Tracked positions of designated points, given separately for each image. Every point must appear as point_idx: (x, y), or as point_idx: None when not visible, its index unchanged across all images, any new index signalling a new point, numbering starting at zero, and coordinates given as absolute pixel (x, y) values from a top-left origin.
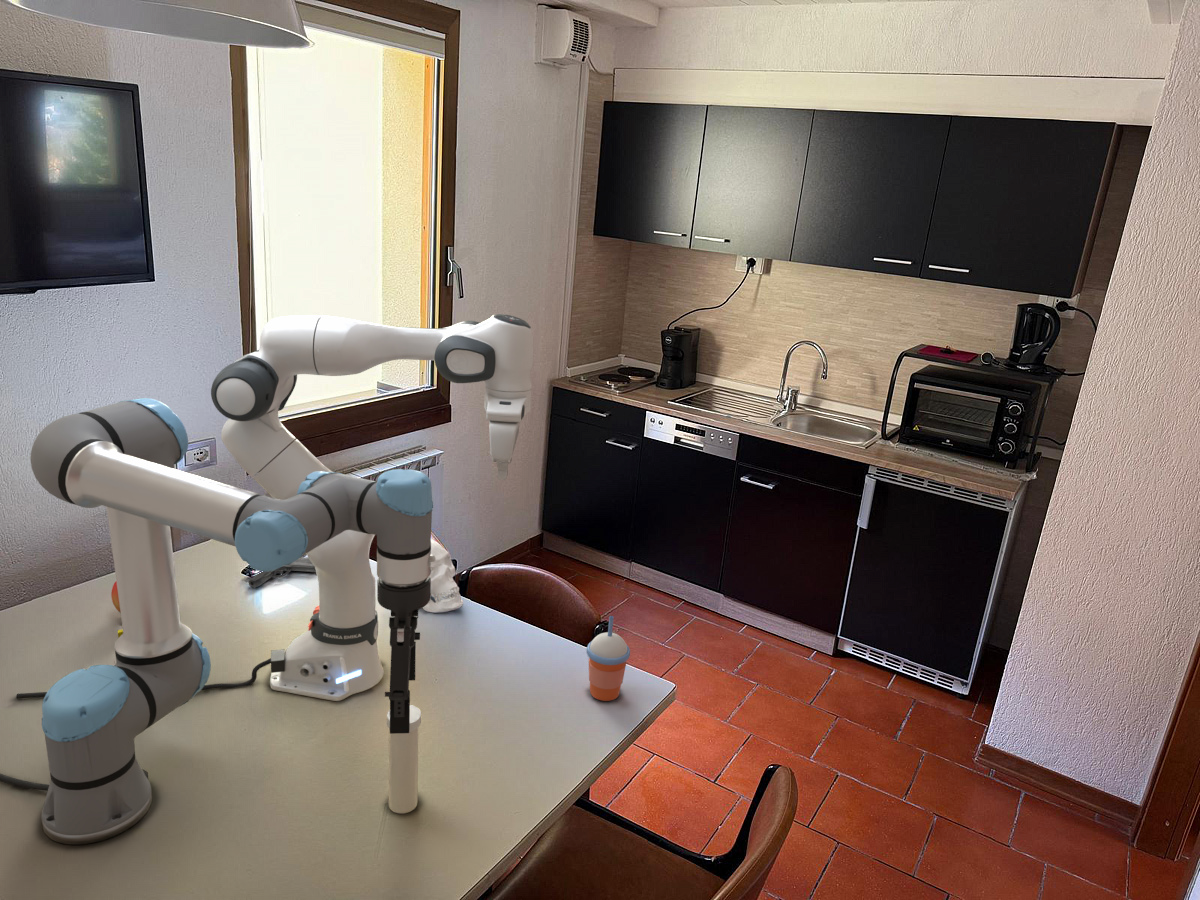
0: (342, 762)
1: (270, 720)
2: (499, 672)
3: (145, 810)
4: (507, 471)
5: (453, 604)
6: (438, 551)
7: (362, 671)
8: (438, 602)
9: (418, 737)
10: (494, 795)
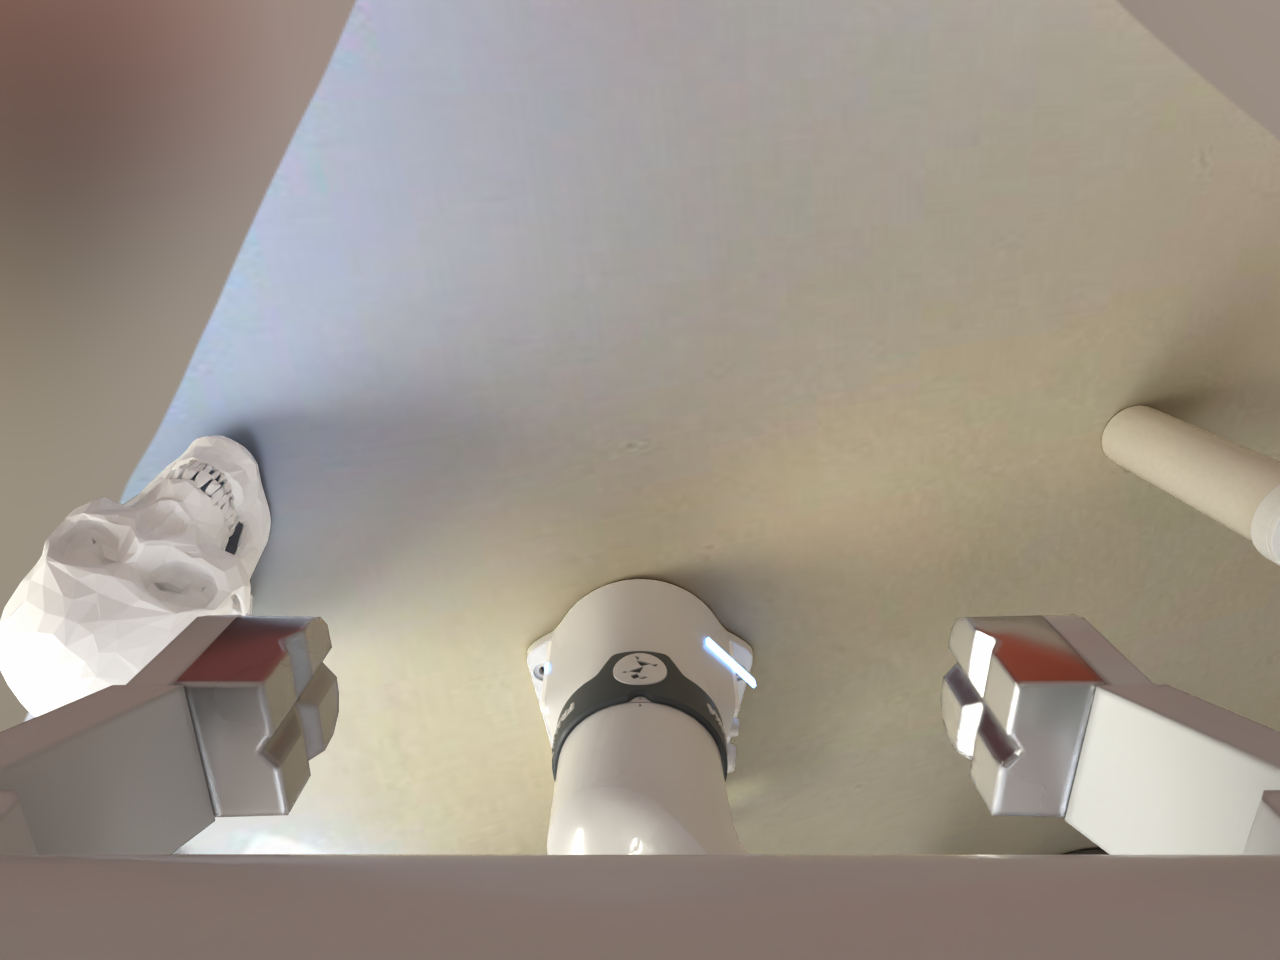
0: (978, 586)
1: (827, 754)
2: (571, 270)
3: (1106, 854)
4: (1019, 656)
5: (242, 466)
6: (87, 600)
7: (700, 637)
8: (245, 513)
9: (1272, 462)
10: (1132, 225)
